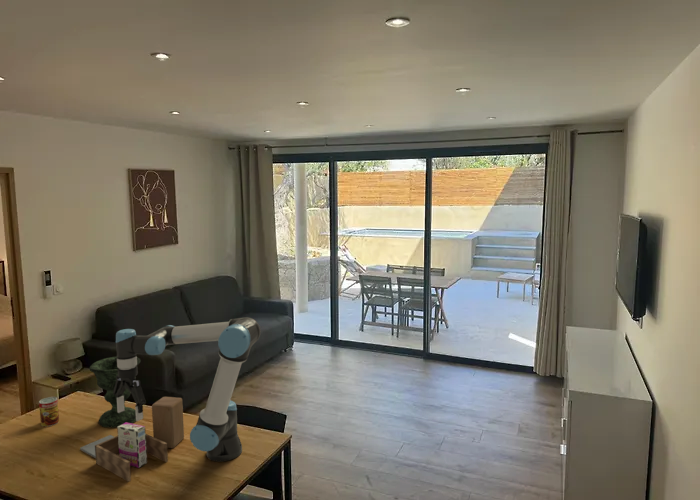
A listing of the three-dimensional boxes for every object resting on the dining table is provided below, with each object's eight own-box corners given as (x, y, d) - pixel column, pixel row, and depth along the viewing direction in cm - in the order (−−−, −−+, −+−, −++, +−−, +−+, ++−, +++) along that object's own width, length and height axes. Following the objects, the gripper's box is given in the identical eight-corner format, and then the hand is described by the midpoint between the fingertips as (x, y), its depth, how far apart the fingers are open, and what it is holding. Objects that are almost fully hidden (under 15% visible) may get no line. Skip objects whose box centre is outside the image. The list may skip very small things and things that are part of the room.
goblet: (121, 433, 232) (117, 372, 228) (83, 427, 238) (79, 368, 234) (152, 413, 253) (149, 357, 249) (116, 408, 259) (113, 353, 255)
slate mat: (127, 445, 220) (127, 443, 220) (96, 459, 209) (96, 456, 209) (110, 436, 228) (110, 434, 228) (80, 449, 217) (80, 447, 216)
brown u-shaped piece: (167, 461, 207) (167, 443, 206) (128, 481, 192) (127, 462, 191) (135, 445, 220) (134, 428, 219) (96, 463, 205) (94, 445, 205)
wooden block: (173, 449, 216) (171, 406, 214) (153, 447, 218) (150, 404, 216) (185, 438, 226) (183, 397, 224) (165, 436, 228) (163, 395, 226)
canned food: (45, 428, 237) (43, 404, 236) (37, 424, 241) (35, 401, 240) (62, 421, 244) (60, 398, 242) (54, 418, 248) (52, 395, 247)
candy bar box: (148, 462, 206) (145, 425, 204) (139, 468, 201) (136, 431, 199) (128, 457, 210) (125, 421, 208) (118, 463, 205) (116, 426, 204)
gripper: (153, 370, 197) (156, 419, 199) (119, 358, 211) (121, 405, 213) (136, 375, 191) (139, 427, 193) (102, 363, 205) (105, 411, 207)
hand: (130, 415), depth 203 cm, fingers open, 13 cm apart
